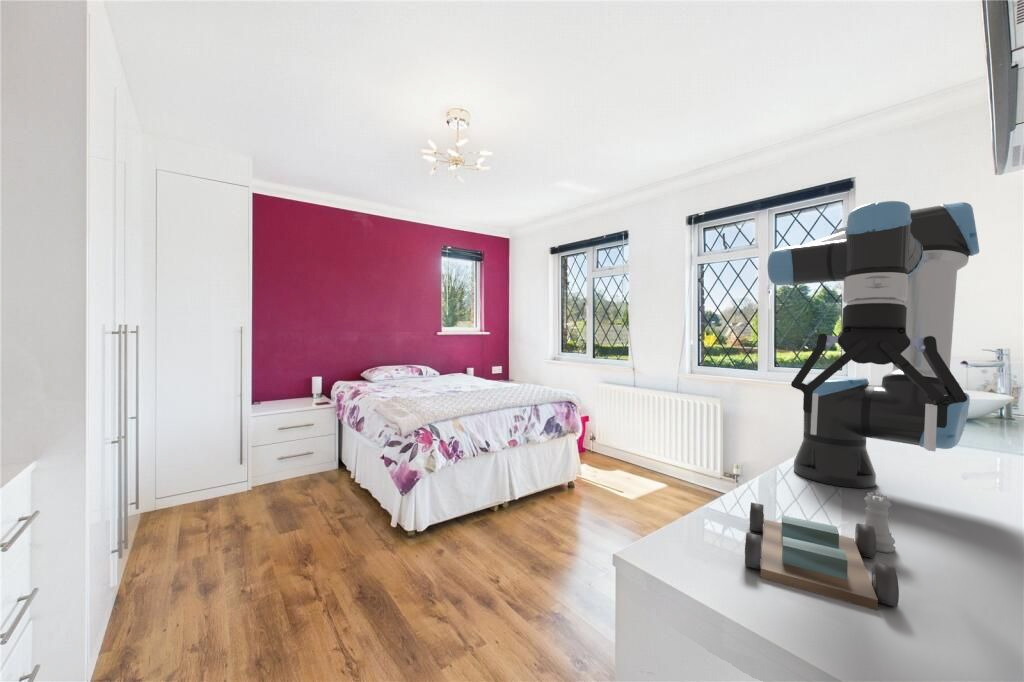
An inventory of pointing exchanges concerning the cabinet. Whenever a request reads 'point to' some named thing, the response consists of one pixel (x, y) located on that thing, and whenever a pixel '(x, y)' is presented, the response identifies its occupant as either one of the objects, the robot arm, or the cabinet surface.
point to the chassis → (820, 559)
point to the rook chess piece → (879, 521)
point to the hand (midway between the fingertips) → (867, 441)
